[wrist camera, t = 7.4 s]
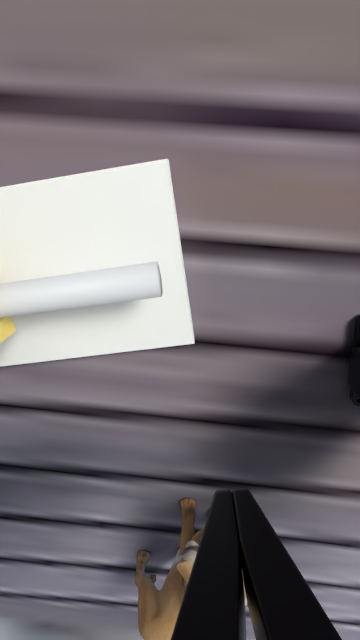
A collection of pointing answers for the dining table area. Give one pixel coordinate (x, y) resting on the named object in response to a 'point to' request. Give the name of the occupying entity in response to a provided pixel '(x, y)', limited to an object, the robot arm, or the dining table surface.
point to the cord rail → (92, 265)
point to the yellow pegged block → (6, 328)
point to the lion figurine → (167, 582)
